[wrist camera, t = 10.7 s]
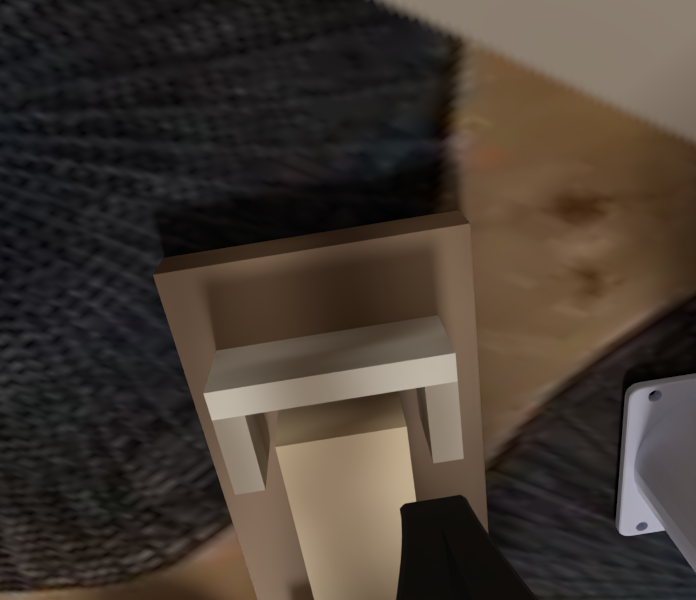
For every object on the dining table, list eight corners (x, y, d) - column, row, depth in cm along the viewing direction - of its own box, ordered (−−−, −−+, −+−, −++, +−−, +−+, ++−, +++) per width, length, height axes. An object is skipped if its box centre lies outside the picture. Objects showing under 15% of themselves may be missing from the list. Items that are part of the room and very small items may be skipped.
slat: (393, 372, 20) (406, 426, 17) (427, 631, 26) (441, 702, 23) (280, 390, 20) (275, 447, 17) (340, 645, 26) (344, 716, 23)
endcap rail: (458, 209, 19) (493, 251, 15) (488, 657, 29) (514, 746, 26) (164, 258, 19) (129, 309, 15) (297, 687, 29) (295, 779, 26)
